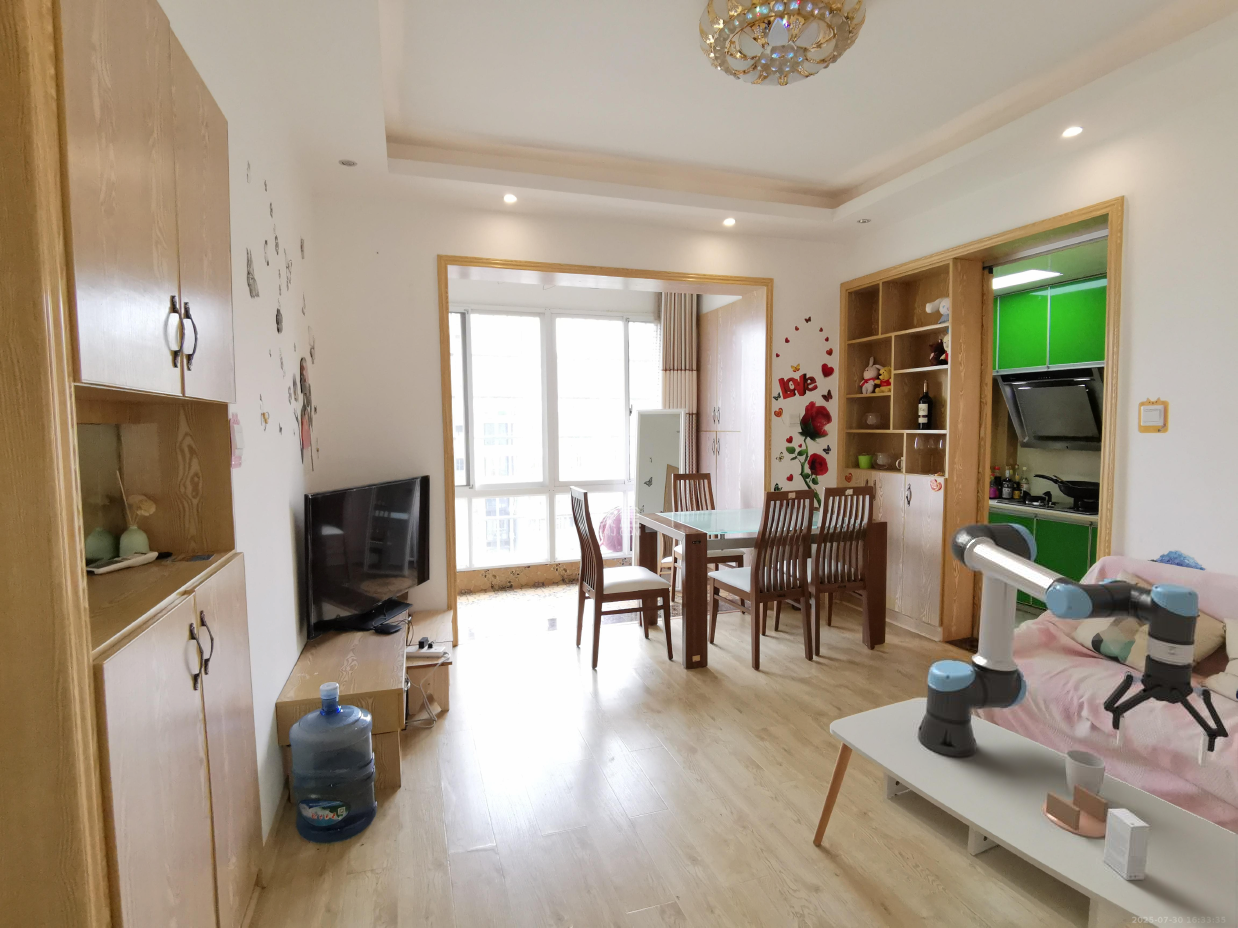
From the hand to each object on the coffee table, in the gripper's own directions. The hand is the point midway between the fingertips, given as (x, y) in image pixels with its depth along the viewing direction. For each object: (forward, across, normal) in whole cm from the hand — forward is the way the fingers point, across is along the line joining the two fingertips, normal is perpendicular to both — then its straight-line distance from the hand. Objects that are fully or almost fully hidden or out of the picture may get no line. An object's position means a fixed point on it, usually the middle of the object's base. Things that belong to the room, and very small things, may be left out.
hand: (1159, 753), depth 136 cm
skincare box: (+24, -5, -8) cm, 26 cm away
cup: (+24, -11, +19) cm, 33 cm away
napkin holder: (+24, -13, +7) cm, 28 cm away
